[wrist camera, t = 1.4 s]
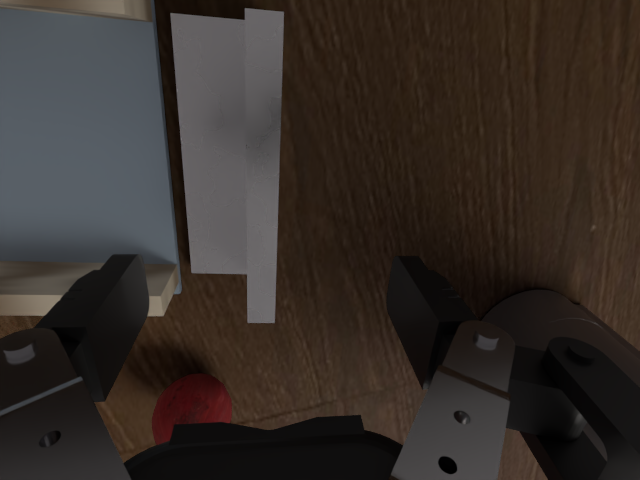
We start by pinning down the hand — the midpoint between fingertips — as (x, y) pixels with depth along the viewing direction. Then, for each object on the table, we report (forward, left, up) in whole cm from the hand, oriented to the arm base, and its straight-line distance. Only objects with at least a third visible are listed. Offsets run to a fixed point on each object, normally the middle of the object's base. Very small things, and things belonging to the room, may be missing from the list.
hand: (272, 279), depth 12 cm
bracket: (+3, 0, -14) cm, 15 cm away
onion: (+6, +19, -14) cm, 24 cm away
